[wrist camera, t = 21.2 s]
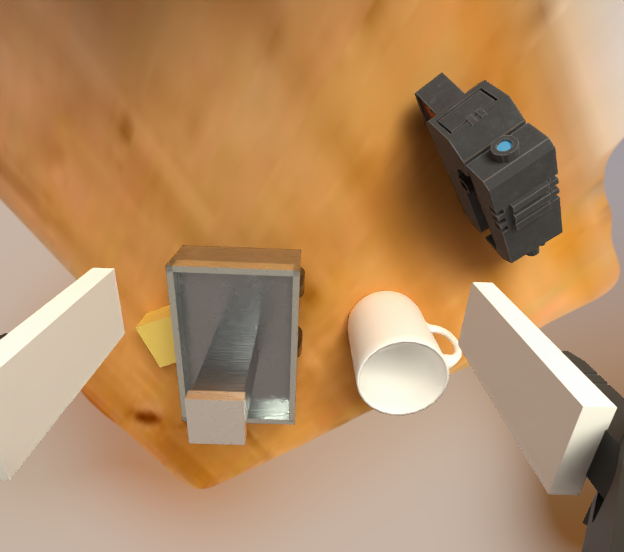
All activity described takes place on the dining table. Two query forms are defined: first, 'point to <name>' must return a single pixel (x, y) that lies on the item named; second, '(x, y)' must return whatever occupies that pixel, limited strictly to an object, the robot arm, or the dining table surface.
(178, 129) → the dining table surface
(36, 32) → the dining table surface
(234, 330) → the grey tall block
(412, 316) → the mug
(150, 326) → the block
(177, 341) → the grey open rectangular container
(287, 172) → the dining table surface
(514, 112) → the tool
